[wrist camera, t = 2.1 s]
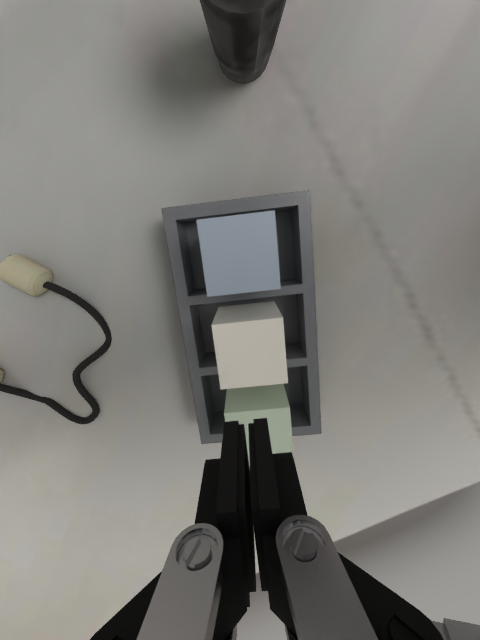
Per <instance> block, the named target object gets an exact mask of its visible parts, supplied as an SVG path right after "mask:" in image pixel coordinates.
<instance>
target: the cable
mask: <svg viewBox="0 0 480 640" xmlns="http://www.w3.org/2000/svg"><path fill="white" fill-rule="evenodd" d="M0 279H1V280H2V281H4V282H6V283H8V284H10V285H12V286H13V287H15V288H17V289H19V290H21V291H23V292H25V293H27V294H29V295H31V296H39V295H41V294H43V293H44V292H46V291H47V290H48V289H49V290H52V291H54V292H56V293H58V294H61V295H63V296H65V297H67V298H68V299H70V300H72V301H74V302H75V303H77V304H78V305H80V306H81V307H82V308H84V309H85V310H86V311H87V312H88V313H90V314H91V315H92V316H93V317H94V319H95V320H96V321H97V322H98V323H99V325H100V326H101V328H102V329H103V331H104V333H105V336H106V340H105V342H104V344H103V345H102V346H101V347H100V348H99V349H98V350H97V351H96V352H95V353H93V354H92V355H91V356H89V357H88V358H87V359H85V360H84V361H83V362H81V363H80V364H79V365H78V366H77V367H76V368H75V370H74V371H73V382H74V385H75V387H76V389H77V390H78V392H79V393H80V394H81V395H82V397H83V398H84V399H85V400H86V401H87V402H88V403H89V405H90V406H91V408H92V410H93V412H92V414H91V415H90V416H89V417H87V418H82V417H79V416H76V415H74V414H72V413H71V412H69V411H67V410H66V409H65V408H63V407H62V406H60V405H59V404H58V403H56V402H55V401H53V400H52V399H50V398H47V397H40V396H37V395H35V394H33V393H31V392H28V391H25V390H21V389H18V388H14V387H11V386H7V385H4V384H0V391H3V392H6V393H10V394H14V395H18V396H21V397H25V398H29V399H32V400H36V401H39V402H42V403H45V404H47V405H48V406H50V407H51V408H52V409H54V410H55V411H57V412H58V413H59V414H61V415H62V416H64V417H65V418H67V419H69V420H71V421H73V422H75V423H79V424H88V423H90V422H92V421H94V420H95V418H96V417H97V416H98V414H99V406H98V404H97V402H96V401H95V399H94V398H93V397H92V396H91V395H90V394H89V392H88V391H87V390H86V389H85V387H84V386H83V384H82V382H81V379H80V373H81V372H82V371H83V370H84V369H85V368H86V367H87V366H88V365H90V364H91V363H92V362H94V361H95V360H96V359H98V358H99V357H100V356H101V355H103V354H104V353H105V352H106V351H107V350H108V348H109V347H110V344H111V340H112V339H111V332H110V329H109V327H108V325H107V323H106V321H105V320H104V318H103V317H102V316H101V315H100V313H99V312H98V311H97V310H96V309H95V308H94V307H92V306H91V305H90V304H89V303H88V302H86V301H85V300H83V299H82V298H81V297H79V296H78V295H76V294H74V293H72V292H71V291H69V290H67V289H65V288H62V287H60V286H58V285H56V284H53V283H52V282H53V274H52V272H51V270H49V269H47V268H45V267H44V266H42V265H40V264H38V263H36V262H34V261H32V260H30V259H28V258H26V257H24V256H22V255H19V254H15V255H9V257H7V258H6V259H5V260H4V261H3V262H0ZM3 378H4V371H3V370H1V369H0V383H1V382H2V380H3Z"/></svg>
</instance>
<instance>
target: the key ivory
mask: <svg viewBox="0 0 480 640" xmlns="http://www.w3.org/2000/svg"><path fill="white" fill-rule="evenodd" d="M211 326H212V333H213V340H214V347H215V354H216V361H217V368H218V375H219V382H220V389H221V390H222V389H232V388H243V387H253V386H264V385H274V384H285V383H288V375H287V362H286V349H285V336H284V323H283V316H282V315H281V313H280V311H279V309H278V307H277V305H276V303H275V301H269V302H259V303H250V304H241V305H231V306H222V307H218V310H217V312H216V315H215V317H214V320H213V322H212V325H211Z"/></svg>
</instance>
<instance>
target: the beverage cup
mask: <svg viewBox="0 0 480 640" xmlns="http://www.w3.org/2000/svg"><path fill="white" fill-rule="evenodd" d="M285 2H286V0H200V3H201V6H202V10H203V13H204V17H205V20H206V23H207V27H208V30H209V34H210V37H211V41H212V44H213V48H214V51H215V54H216V56H217V58H218V61H219V65H220V67H221V69H222V71H223V73H224V74H225V75H226V76H227V77H228V78H229V79H231V80H233V81H235V82H238V83H248V82H251V81H254V80H255V79H256V78H258V77H259V76H260V75H261V74H262V73H263V71H264V70H265V68H266V66H267V63H268V60H269V57H270V54H271V52H272V49H273V46H274V42H275V38H276V35H277V31H278V28H279V24H280V20H281V17H282V13H283V10H284V6H285Z"/></svg>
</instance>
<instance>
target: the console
mask: <svg viewBox="0 0 480 640" xmlns="http://www.w3.org/2000/svg"><path fill="white" fill-rule="evenodd" d="M161 209H162V215H163V220H164V226H165V232H166V238H167V244H168V250H169V256H170V262H171V267H172V273H173V279H174V285H175V291H176V297H177V303H178V309H179V314H180V320H181V326H182V332H183V338H184V344H185V350H186V356H187V361H188V367H189V373H190V379H191V385H192V391H193V397H194V403H195V408H196V414H197V420H198V426H199V432H200V438H201V444H208V443H219V442H222V440H223V430H224V422H225V417H224V409H225V401H226V392H227V389H222V390H221V389H220V382H219V375H218V368H217V361H216V354H215V347H214V340H213V333H212V326H211V325H212V322H213V320H214V317H215V315H216V312H217V310H218V307H222V306H231V305H241V304H250V303H259V302H269V301H275V303H276V305H277V307H278V309H279V311H280V313H281V315H282V316H283V323H284V336H285V349H286V362H287V375H288V383H285V384H284V388H285V391H286V395H287V398H288V402H289V406H290V414H291V427H292V436H299V435H311V434H321V412H320V391H319V370H318V348H317V327H316V306H315V284H314V263H313V242H312V221H311V199H310V190H307V191H299V192H290V193H282V194H274V195H266V196H258V197H250V198H242V199H233V200H225V201H217V202H209V203H201V204H193V205H185V206H176V207H168V208H161ZM273 210H275V219H276V232H277V245H278V258H279V271H280V284H281V289H275V290H266V291H257V292H248V293H239V294H229V295H220V296H211V297H207V291H206V284H205V277H204V270H203V263H202V256H201V249H200V242H199V235H198V228H197V221H196V220H199V219H207V218H215V217H224V216H232V215H240V214H249V213H257V212H265V211H273Z"/></svg>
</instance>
